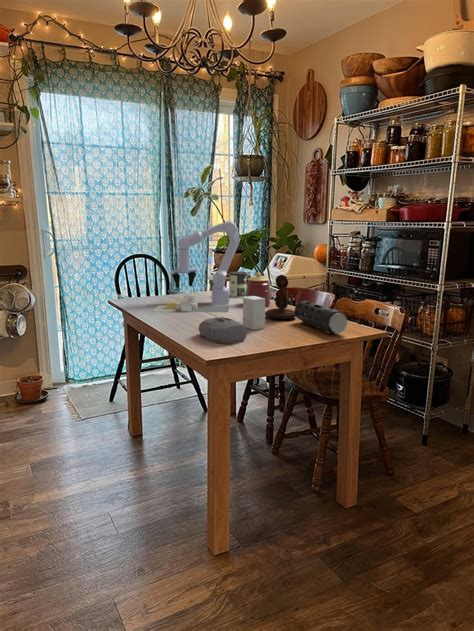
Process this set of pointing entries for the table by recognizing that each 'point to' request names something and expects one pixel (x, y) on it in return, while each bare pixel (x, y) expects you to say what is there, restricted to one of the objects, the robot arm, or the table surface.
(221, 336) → the soft grey pack
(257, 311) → the small box
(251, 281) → the canister
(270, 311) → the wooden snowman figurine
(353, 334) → the table surface
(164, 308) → the mat
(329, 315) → the muzzle brake
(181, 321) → the table surface
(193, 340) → the table surface
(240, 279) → the coffee can
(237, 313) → the table surface
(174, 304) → the plug
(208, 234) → the robot arm
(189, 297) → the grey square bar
